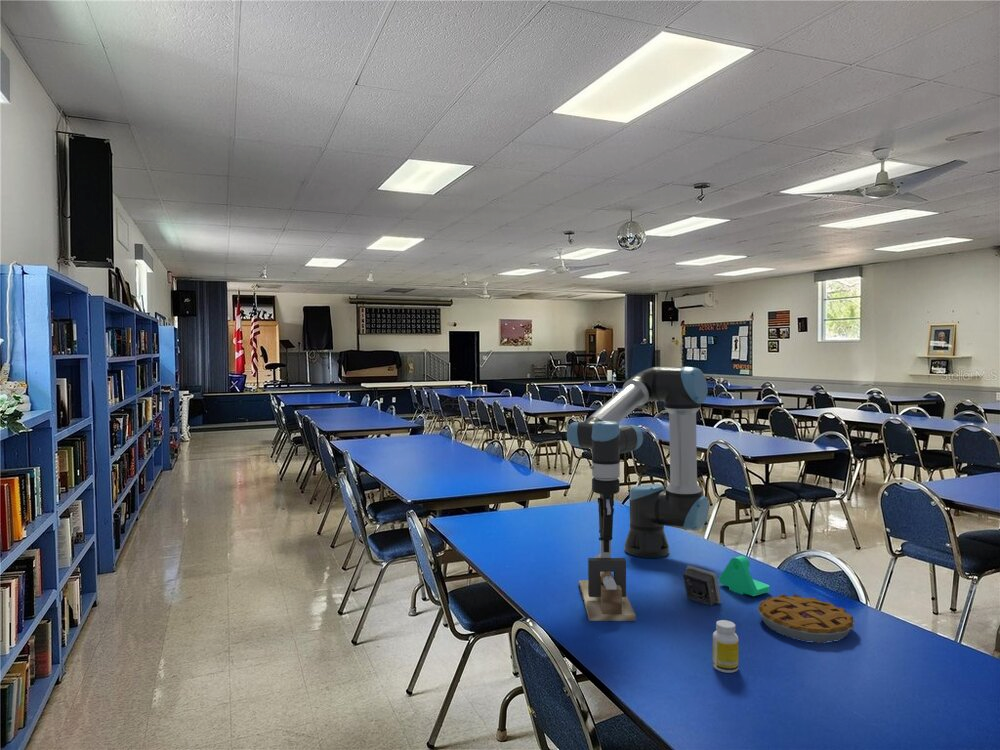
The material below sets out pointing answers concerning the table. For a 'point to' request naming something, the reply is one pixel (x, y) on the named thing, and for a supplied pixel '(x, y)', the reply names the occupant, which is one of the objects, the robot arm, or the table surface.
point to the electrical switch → (701, 585)
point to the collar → (605, 566)
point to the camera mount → (741, 578)
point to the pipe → (608, 579)
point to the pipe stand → (607, 604)
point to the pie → (805, 618)
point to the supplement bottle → (725, 647)
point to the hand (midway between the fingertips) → (605, 562)
